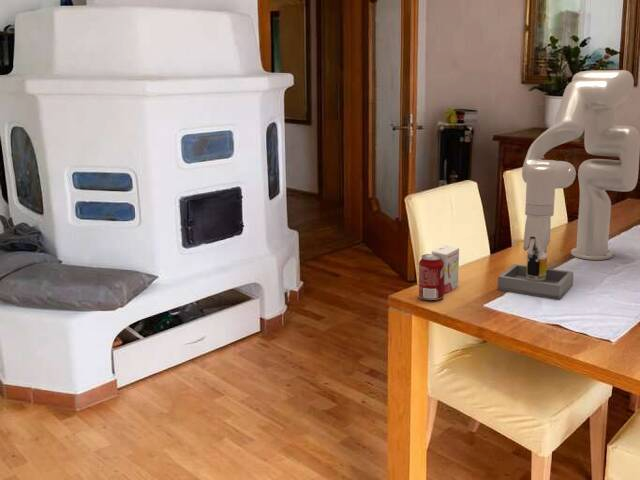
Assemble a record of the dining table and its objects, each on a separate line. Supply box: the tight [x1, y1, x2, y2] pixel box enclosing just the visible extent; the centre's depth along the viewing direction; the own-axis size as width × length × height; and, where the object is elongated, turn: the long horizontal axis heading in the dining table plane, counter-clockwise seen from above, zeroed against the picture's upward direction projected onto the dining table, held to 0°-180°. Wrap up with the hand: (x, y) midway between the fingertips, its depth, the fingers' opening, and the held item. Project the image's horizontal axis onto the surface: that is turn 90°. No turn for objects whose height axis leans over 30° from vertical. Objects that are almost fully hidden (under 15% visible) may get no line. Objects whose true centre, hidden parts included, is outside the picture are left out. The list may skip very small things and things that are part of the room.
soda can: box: [418, 253, 445, 301], centre depth 181 cm, size 7×7×12 cm
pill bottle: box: [526, 249, 548, 281], centre depth 186 cm, size 5×5×10 cm
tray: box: [497, 263, 574, 301], centre depth 187 cm, size 14×17×4 cm
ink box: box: [431, 244, 460, 295], centre depth 188 cm, size 9×5×12 cm, turn 142°
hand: (536, 271), depth 187 cm, fingers closed on pill bottle, 5 cm apart
